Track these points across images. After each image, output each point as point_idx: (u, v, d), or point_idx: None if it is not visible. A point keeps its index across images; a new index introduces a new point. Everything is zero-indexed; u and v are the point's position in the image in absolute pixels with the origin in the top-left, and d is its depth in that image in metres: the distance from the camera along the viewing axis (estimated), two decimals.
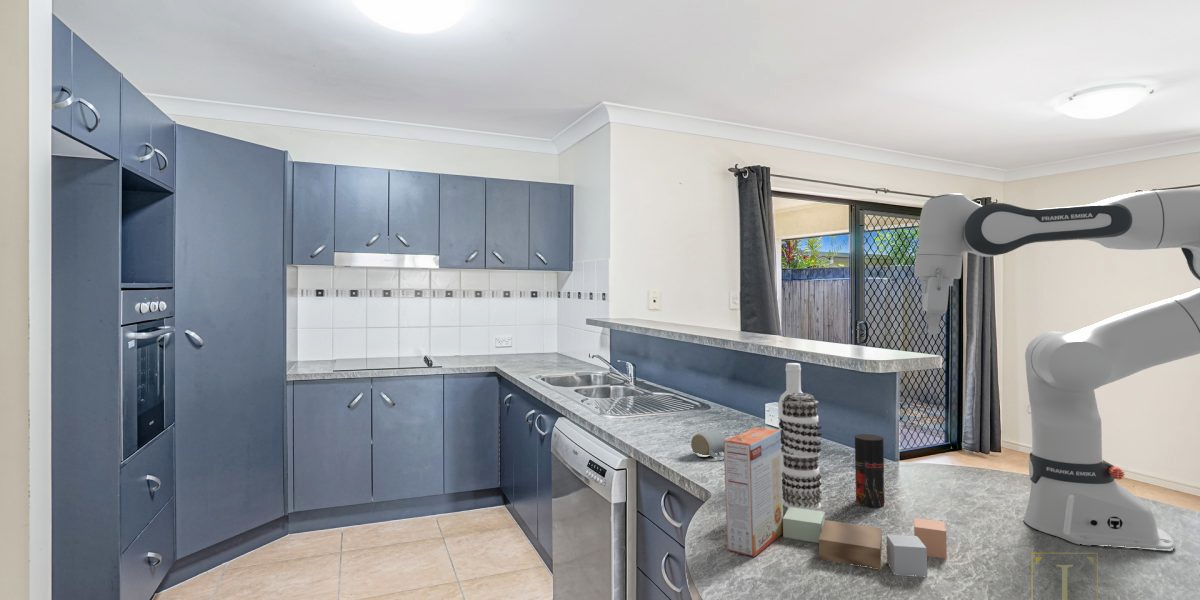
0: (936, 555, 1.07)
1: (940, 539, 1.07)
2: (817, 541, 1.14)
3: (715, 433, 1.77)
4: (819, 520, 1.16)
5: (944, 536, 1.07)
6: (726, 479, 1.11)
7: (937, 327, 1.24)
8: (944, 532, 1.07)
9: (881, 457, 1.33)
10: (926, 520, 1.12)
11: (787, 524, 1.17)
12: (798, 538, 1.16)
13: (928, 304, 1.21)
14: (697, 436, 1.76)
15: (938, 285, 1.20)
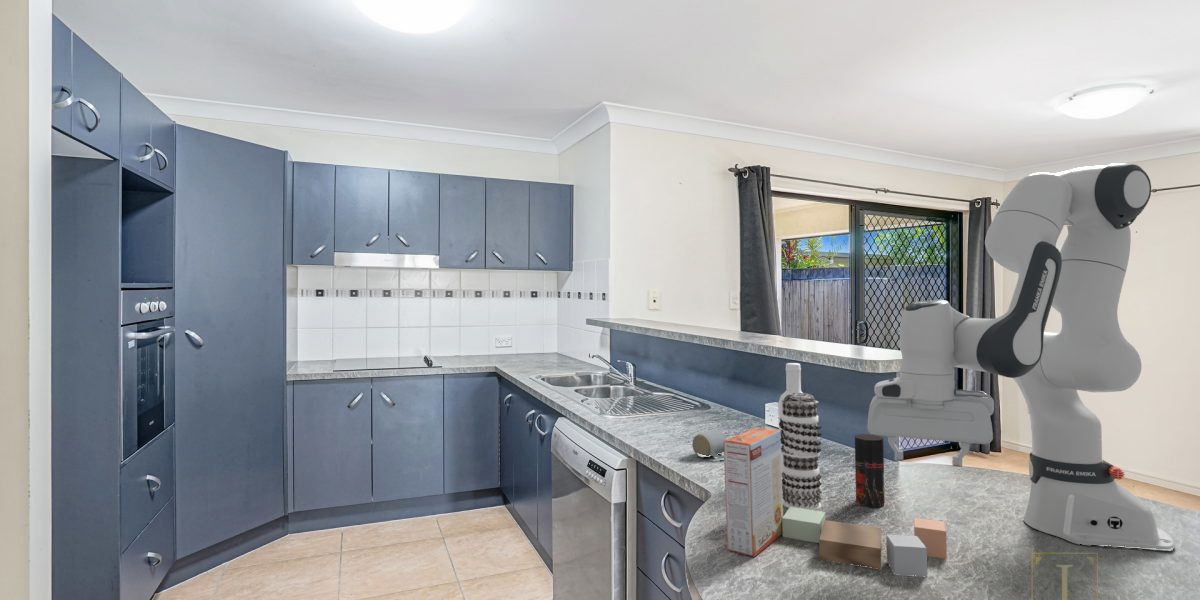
0: (936, 555, 1.07)
1: (940, 539, 1.07)
2: (816, 541, 1.14)
3: (717, 433, 1.77)
4: (818, 520, 1.15)
5: (944, 536, 1.07)
6: (726, 479, 1.11)
7: None
8: (944, 532, 1.07)
9: (881, 457, 1.33)
10: (926, 520, 1.12)
11: (787, 523, 1.17)
12: (797, 538, 1.16)
13: (992, 435, 1.04)
14: (698, 436, 1.76)
15: (993, 411, 1.05)
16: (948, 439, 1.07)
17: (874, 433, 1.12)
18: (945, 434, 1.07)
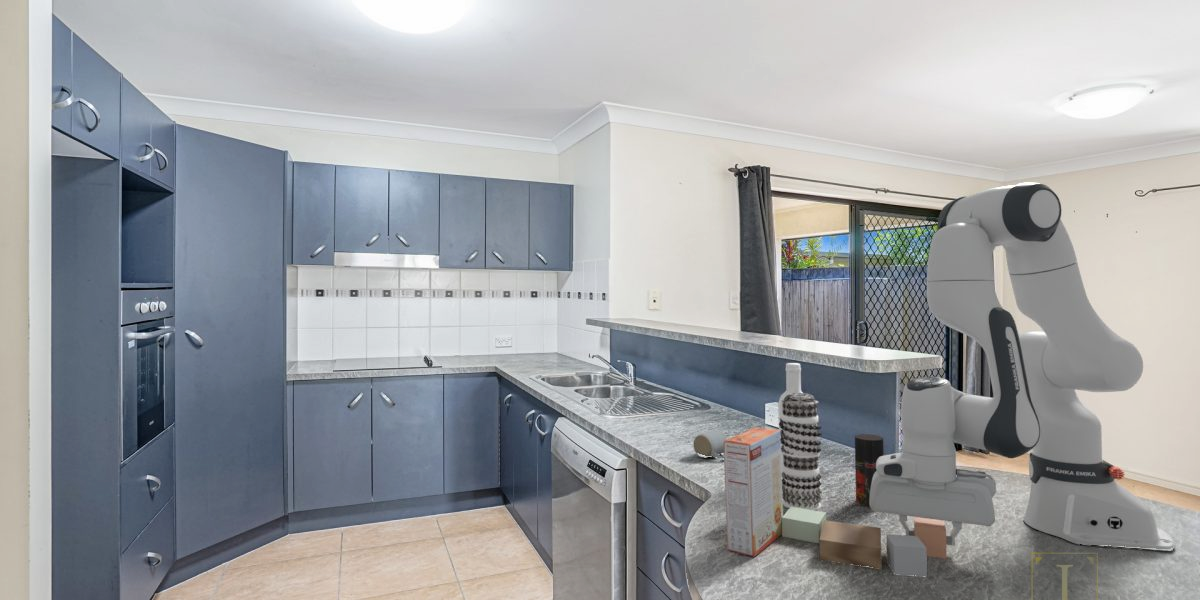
0: (936, 554, 1.07)
1: (940, 539, 1.07)
2: (815, 541, 1.14)
3: (718, 434, 1.77)
4: (818, 521, 1.15)
5: (944, 535, 1.07)
6: (726, 479, 1.11)
7: None
8: (944, 531, 1.07)
9: None
10: (926, 519, 1.12)
11: (786, 523, 1.17)
12: (797, 538, 1.16)
13: (994, 517, 1.04)
14: (699, 437, 1.75)
15: None
16: (950, 519, 1.07)
17: (876, 511, 1.12)
18: (947, 514, 1.07)
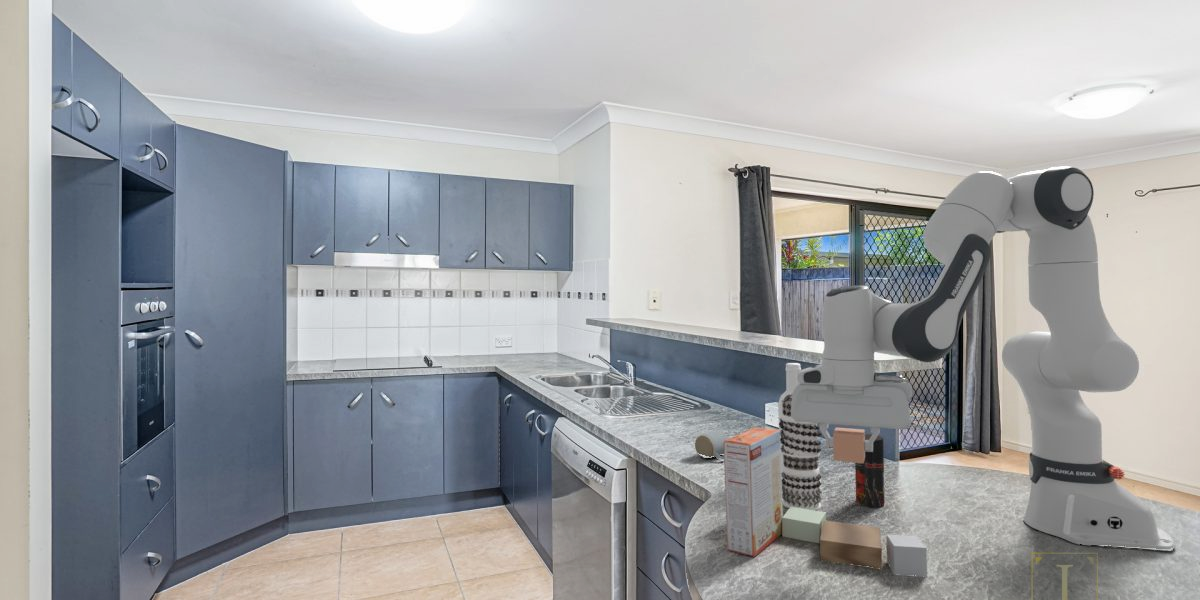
0: (853, 460, 1.07)
1: (857, 444, 1.06)
2: (816, 541, 1.14)
3: (720, 434, 1.76)
4: (818, 521, 1.15)
5: (861, 440, 1.06)
6: (726, 479, 1.11)
7: None
8: (861, 436, 1.06)
9: (881, 457, 1.33)
10: (847, 429, 1.11)
11: (787, 523, 1.17)
12: (797, 538, 1.16)
13: (909, 420, 1.03)
14: (701, 437, 1.75)
15: (911, 396, 1.05)
16: (867, 425, 1.06)
17: (797, 420, 1.12)
18: (865, 420, 1.06)
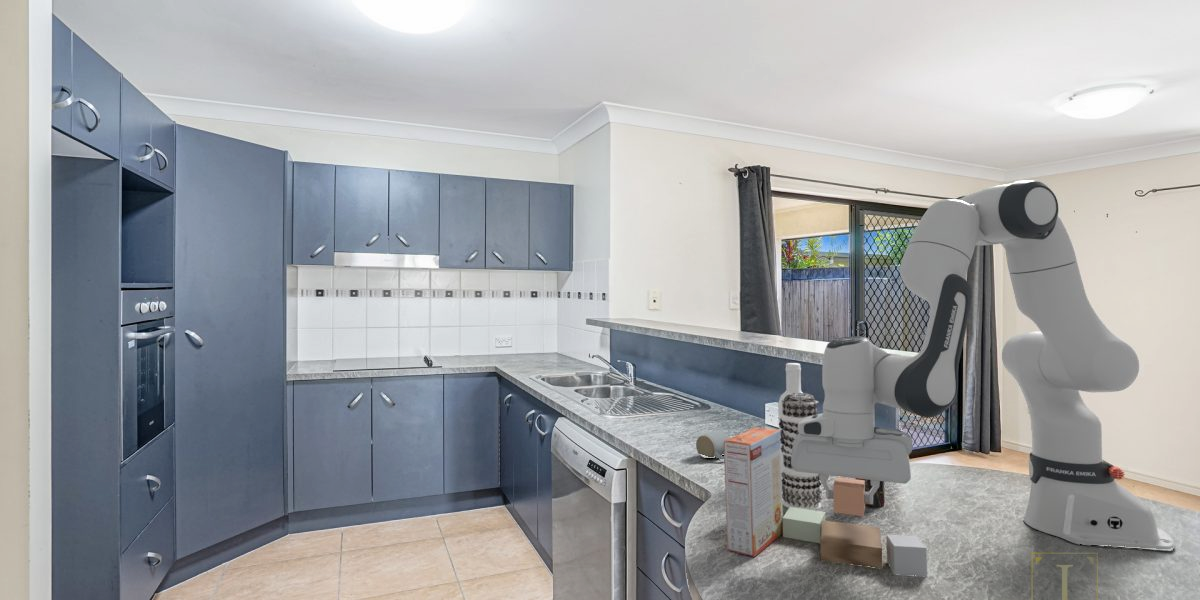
0: (853, 512, 1.07)
1: (857, 497, 1.06)
2: (816, 541, 1.14)
3: (721, 434, 1.76)
4: (818, 520, 1.16)
5: (861, 493, 1.06)
6: (726, 479, 1.11)
7: None
8: (861, 489, 1.06)
9: None
10: (847, 479, 1.11)
11: (787, 523, 1.17)
12: (798, 538, 1.16)
13: (909, 475, 1.04)
14: (702, 437, 1.74)
15: (911, 450, 1.05)
16: (868, 478, 1.06)
17: (797, 470, 1.12)
18: (865, 472, 1.06)
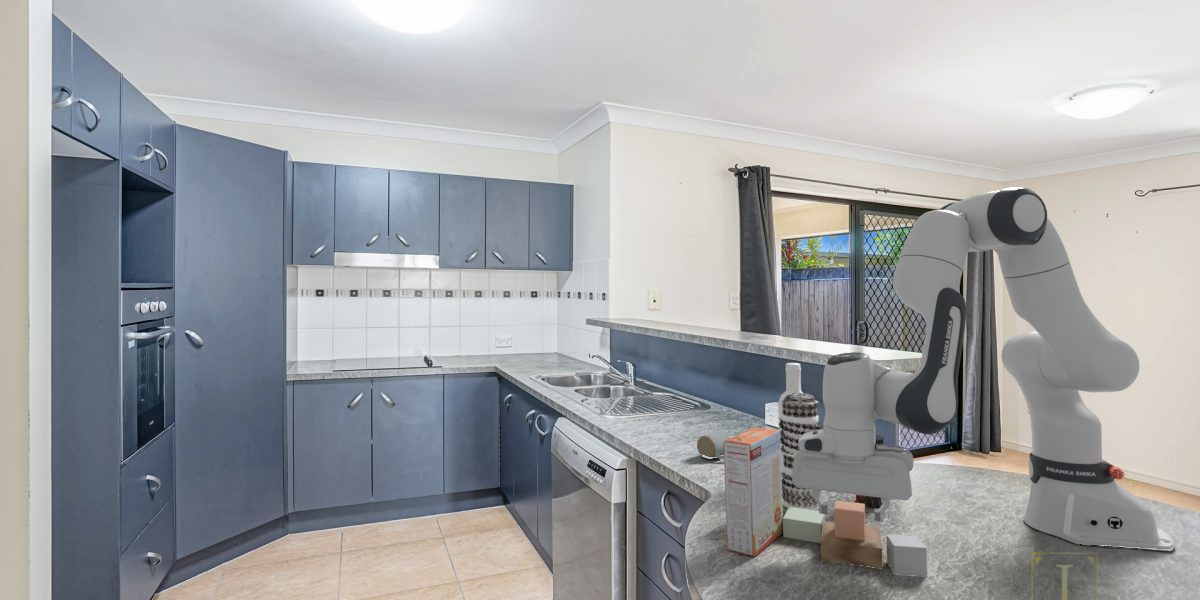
0: (854, 537, 1.07)
1: (858, 521, 1.07)
2: (817, 541, 1.14)
3: (722, 435, 1.75)
4: (819, 520, 1.16)
5: (862, 517, 1.06)
6: (726, 479, 1.11)
7: None
8: (862, 513, 1.06)
9: None
10: (847, 503, 1.11)
11: (788, 523, 1.17)
12: (798, 538, 1.16)
13: (910, 491, 1.04)
14: (703, 438, 1.74)
15: (912, 467, 1.05)
16: (869, 494, 1.06)
17: (798, 487, 1.12)
18: (866, 489, 1.06)
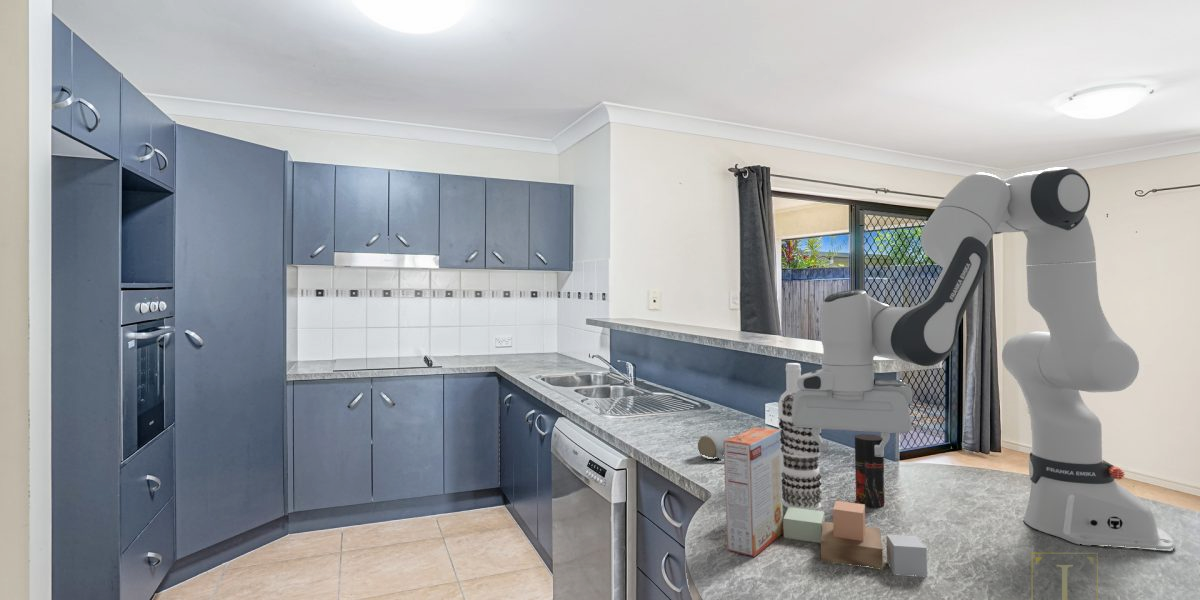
0: (853, 537, 1.07)
1: (857, 521, 1.07)
2: (818, 541, 1.14)
3: (723, 435, 1.75)
4: (819, 520, 1.16)
5: (861, 518, 1.06)
6: (726, 479, 1.11)
7: None
8: (861, 514, 1.06)
9: (881, 457, 1.33)
10: (847, 503, 1.11)
11: (788, 524, 1.17)
12: (799, 538, 1.16)
13: (910, 424, 1.04)
14: (704, 438, 1.74)
15: (911, 400, 1.05)
16: (868, 429, 1.06)
17: (798, 426, 1.12)
18: (865, 424, 1.06)
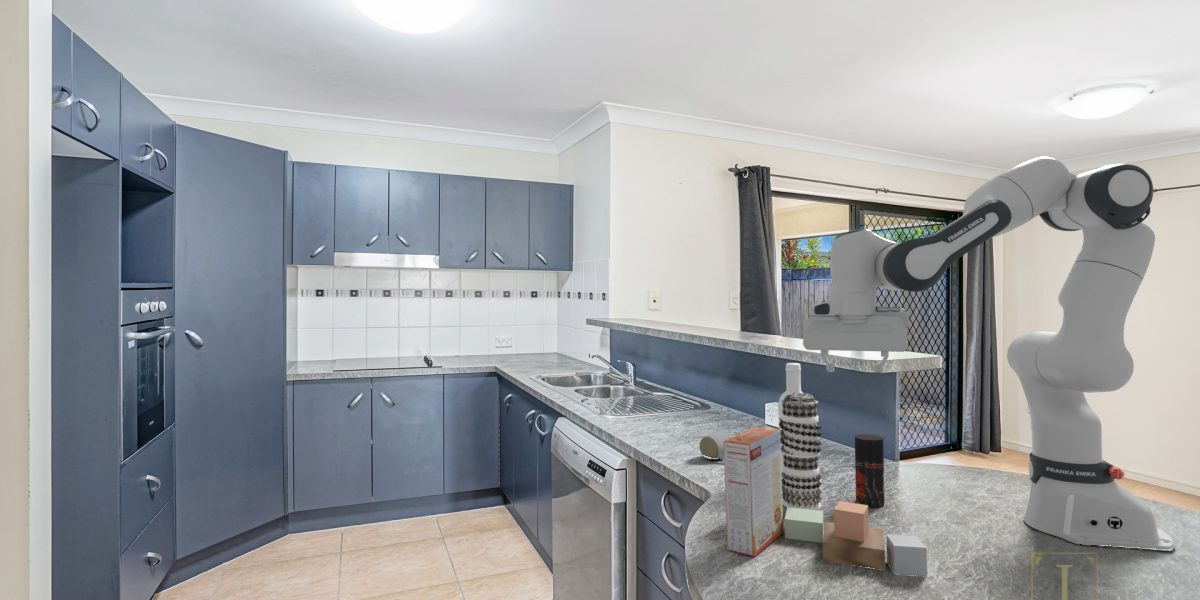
0: (854, 538, 1.07)
1: (857, 522, 1.06)
2: (819, 541, 1.15)
3: (724, 435, 1.75)
4: (820, 520, 1.16)
5: (861, 519, 1.06)
6: (726, 479, 1.11)
7: None
8: (861, 515, 1.06)
9: (881, 457, 1.33)
10: (850, 503, 1.11)
11: (789, 524, 1.17)
12: (800, 538, 1.16)
13: (906, 343, 1.20)
14: (706, 438, 1.73)
15: (908, 323, 1.21)
16: (870, 349, 1.22)
17: (809, 348, 1.28)
18: (868, 345, 1.22)
